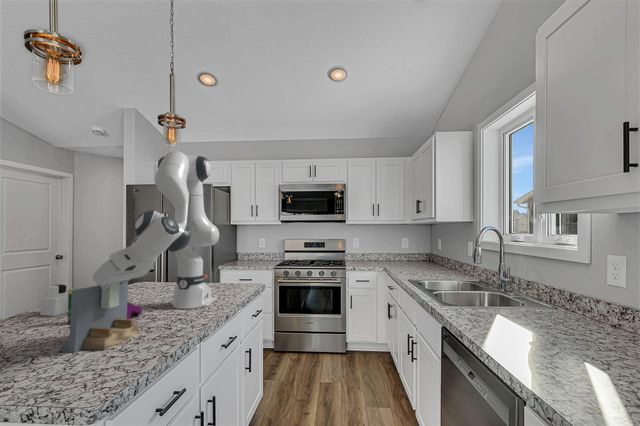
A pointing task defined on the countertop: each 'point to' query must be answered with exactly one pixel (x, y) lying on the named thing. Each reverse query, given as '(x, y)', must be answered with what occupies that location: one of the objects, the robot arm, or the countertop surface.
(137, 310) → the mounting bracket
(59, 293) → the medicine bottle
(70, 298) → the coffee box
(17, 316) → the countertop surface
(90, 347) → the cleat ledge
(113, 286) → the cabinet block
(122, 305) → the wall board
